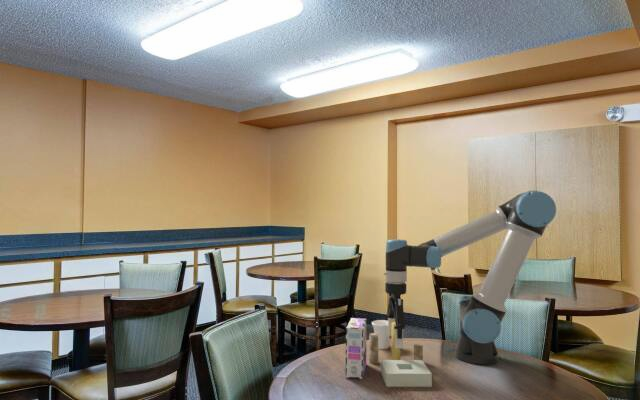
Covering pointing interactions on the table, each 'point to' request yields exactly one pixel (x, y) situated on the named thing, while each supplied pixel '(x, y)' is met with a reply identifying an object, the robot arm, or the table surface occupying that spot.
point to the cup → (381, 333)
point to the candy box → (356, 348)
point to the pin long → (395, 351)
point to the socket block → (406, 373)
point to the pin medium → (373, 348)
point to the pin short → (418, 352)
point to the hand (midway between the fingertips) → (395, 341)
